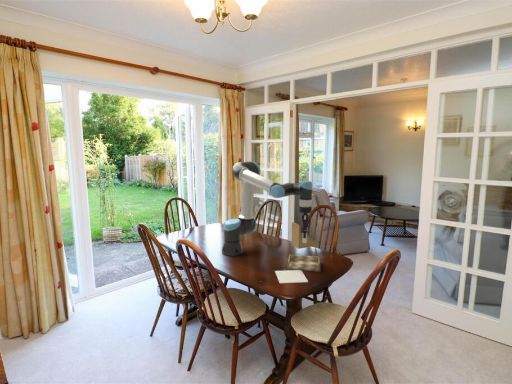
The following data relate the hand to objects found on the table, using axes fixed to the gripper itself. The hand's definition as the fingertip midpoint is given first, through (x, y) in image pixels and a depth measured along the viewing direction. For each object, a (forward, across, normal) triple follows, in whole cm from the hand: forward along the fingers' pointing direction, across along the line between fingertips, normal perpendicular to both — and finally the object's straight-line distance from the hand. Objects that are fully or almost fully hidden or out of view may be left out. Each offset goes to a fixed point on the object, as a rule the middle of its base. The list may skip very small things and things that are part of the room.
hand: (304, 239), depth 184 cm
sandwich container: (+4, +1, 0) cm, 4 cm away
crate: (+17, 0, 0) cm, 17 cm away
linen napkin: (+18, -18, +7) cm, 26 cm away
